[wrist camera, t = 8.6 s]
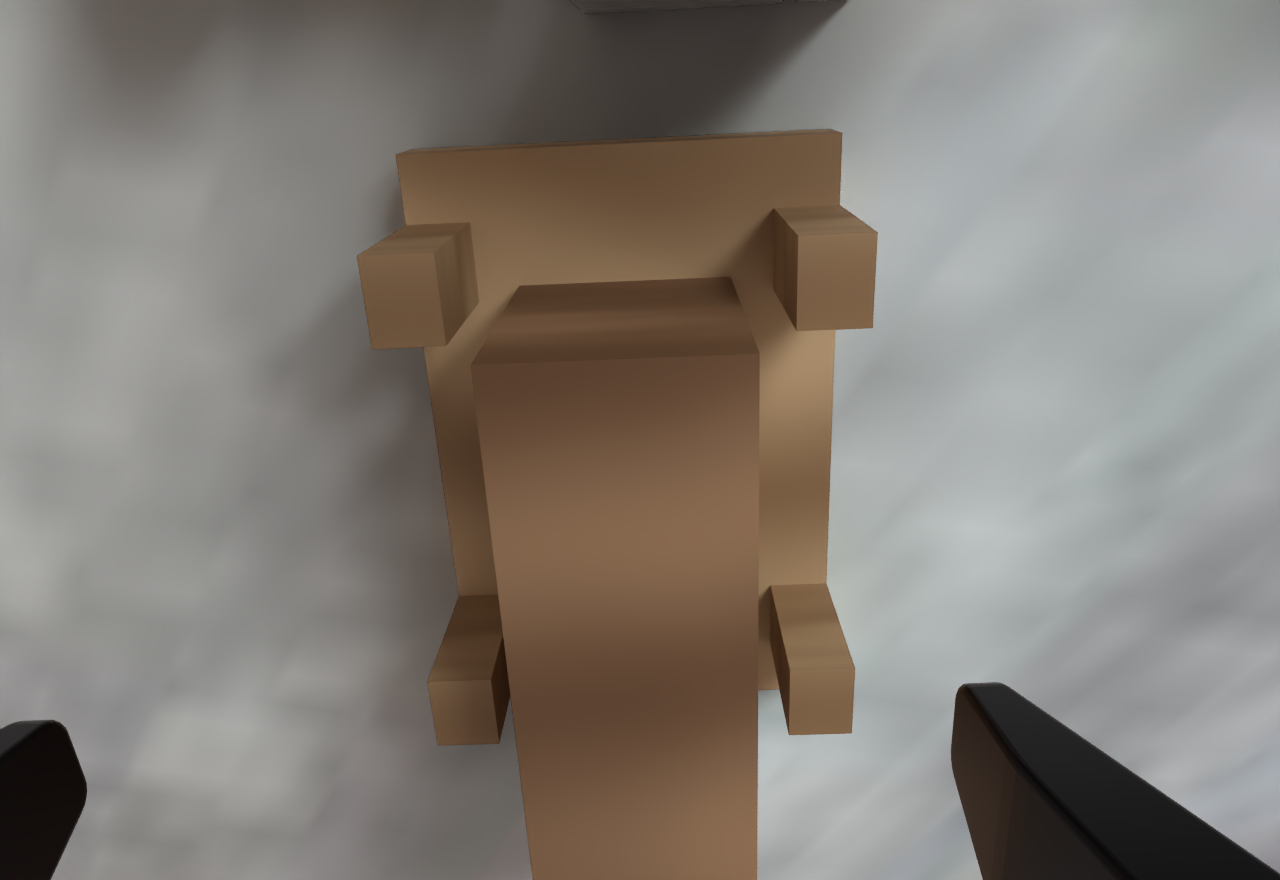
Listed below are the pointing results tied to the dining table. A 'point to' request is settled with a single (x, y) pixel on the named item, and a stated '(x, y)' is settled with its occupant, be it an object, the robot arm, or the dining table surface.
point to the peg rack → (633, 251)
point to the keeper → (662, 4)
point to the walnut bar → (628, 572)
